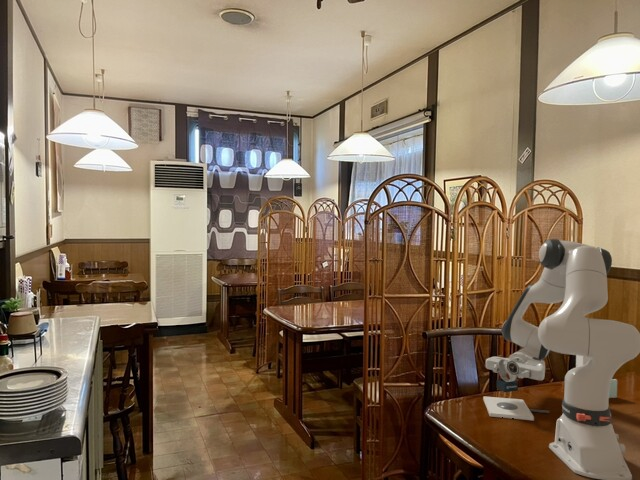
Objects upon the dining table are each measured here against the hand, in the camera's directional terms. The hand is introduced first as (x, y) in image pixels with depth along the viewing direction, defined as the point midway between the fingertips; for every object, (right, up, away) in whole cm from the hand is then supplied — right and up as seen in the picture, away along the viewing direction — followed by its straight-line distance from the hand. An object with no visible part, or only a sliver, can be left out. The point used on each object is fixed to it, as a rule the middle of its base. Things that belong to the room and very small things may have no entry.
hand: (507, 373), depth 161 cm
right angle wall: (+42, -14, +19) cm, 48 cm away
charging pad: (+4, -13, 0) cm, 14 cm away
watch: (0, -6, +1) cm, 6 cm away
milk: (+32, -14, +6) cm, 35 cm away
